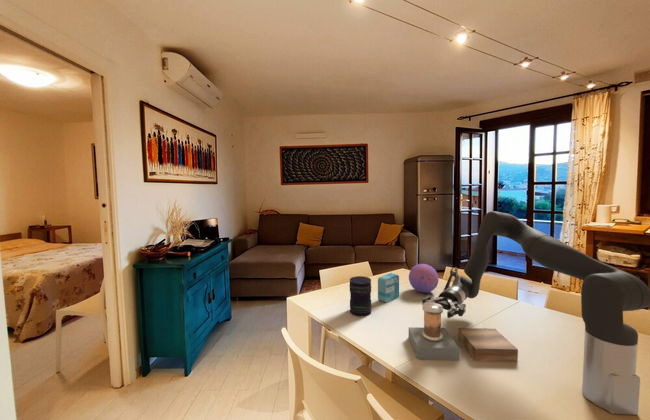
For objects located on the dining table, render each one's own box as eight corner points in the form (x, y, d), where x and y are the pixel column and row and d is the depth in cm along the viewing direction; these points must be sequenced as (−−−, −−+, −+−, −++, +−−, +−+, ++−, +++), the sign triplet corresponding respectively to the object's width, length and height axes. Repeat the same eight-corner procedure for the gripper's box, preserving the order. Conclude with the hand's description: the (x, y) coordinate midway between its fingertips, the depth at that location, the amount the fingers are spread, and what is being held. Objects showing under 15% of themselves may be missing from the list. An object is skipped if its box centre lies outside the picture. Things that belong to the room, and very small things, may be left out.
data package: (385, 303, 132) (385, 279, 132) (377, 300, 136) (377, 277, 135) (399, 297, 140) (399, 274, 139) (391, 294, 144) (391, 272, 143)
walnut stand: (517, 361, 87) (518, 349, 86) (475, 360, 87) (475, 348, 87) (495, 339, 99) (495, 328, 99) (458, 338, 100) (458, 328, 100)
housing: (445, 342, 91) (446, 310, 90) (425, 341, 92) (425, 310, 91) (438, 331, 98) (439, 302, 97) (419, 331, 98) (420, 302, 97)
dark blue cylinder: (346, 309, 127) (345, 277, 126) (364, 305, 131) (364, 275, 130) (356, 318, 118) (355, 284, 117) (375, 314, 121) (375, 281, 120)
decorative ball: (411, 296, 140) (411, 268, 139) (406, 286, 155) (406, 260, 154) (441, 297, 138) (442, 268, 137) (434, 287, 153) (434, 260, 152)
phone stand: (443, 290, 148) (444, 268, 147) (445, 286, 153) (445, 265, 152) (462, 293, 143) (462, 270, 143) (463, 289, 148) (463, 268, 148)
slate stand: (459, 360, 88) (459, 348, 88) (417, 359, 89) (417, 347, 88) (444, 338, 101) (444, 327, 100) (408, 337, 102) (408, 327, 101)
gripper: (434, 284, 112) (416, 296, 101) (472, 293, 103) (457, 306, 91) (434, 302, 113) (416, 315, 101) (471, 312, 103) (456, 328, 91)
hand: (435, 311), depth 96 cm, fingers open, 8 cm apart
